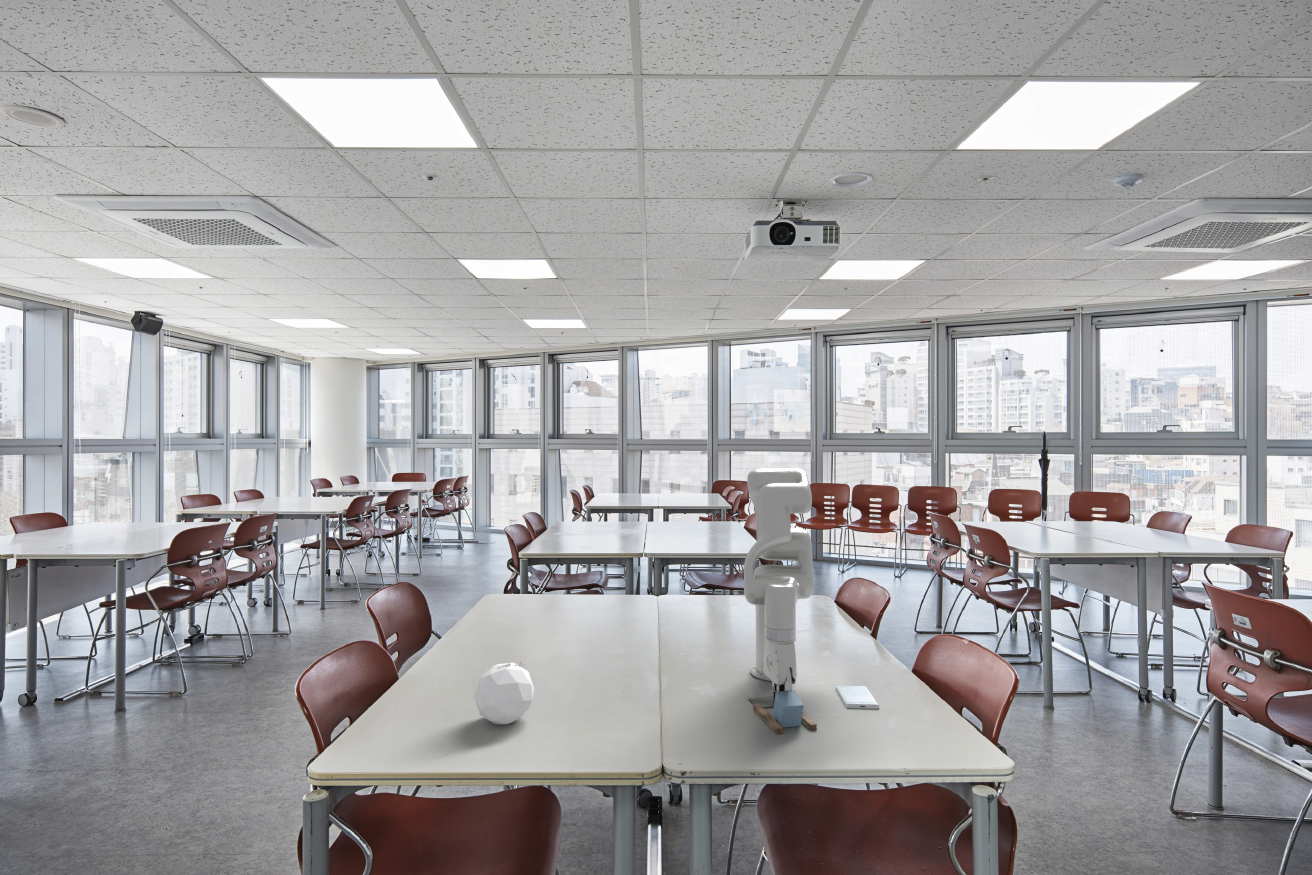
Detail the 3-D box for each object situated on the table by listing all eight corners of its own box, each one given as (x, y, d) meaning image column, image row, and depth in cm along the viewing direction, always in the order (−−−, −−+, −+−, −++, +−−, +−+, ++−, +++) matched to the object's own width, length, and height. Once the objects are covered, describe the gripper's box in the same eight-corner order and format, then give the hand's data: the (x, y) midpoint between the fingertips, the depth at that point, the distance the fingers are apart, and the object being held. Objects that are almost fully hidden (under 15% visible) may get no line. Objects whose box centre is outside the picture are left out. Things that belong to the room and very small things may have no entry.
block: (773, 712, 149) (775, 691, 147) (792, 710, 150) (795, 690, 148) (780, 727, 144) (783, 706, 142) (800, 725, 145) (803, 704, 143)
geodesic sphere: (522, 676, 161) (494, 640, 155) (558, 689, 152) (531, 652, 146) (483, 727, 152) (452, 691, 145) (519, 744, 143) (488, 706, 136)
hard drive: (835, 685, 168) (846, 703, 156) (866, 685, 167) (879, 703, 155) (835, 691, 168) (846, 709, 156) (866, 692, 167) (879, 710, 155)
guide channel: (744, 700, 160) (744, 695, 160) (780, 696, 163) (780, 691, 163) (777, 733, 141) (777, 728, 141) (816, 729, 143) (816, 724, 143)
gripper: (754, 626, 157) (754, 698, 157) (778, 643, 143) (779, 723, 142) (781, 624, 159) (781, 695, 159) (808, 641, 145) (809, 719, 144)
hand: (780, 708), depth 150 cm, fingers closed
